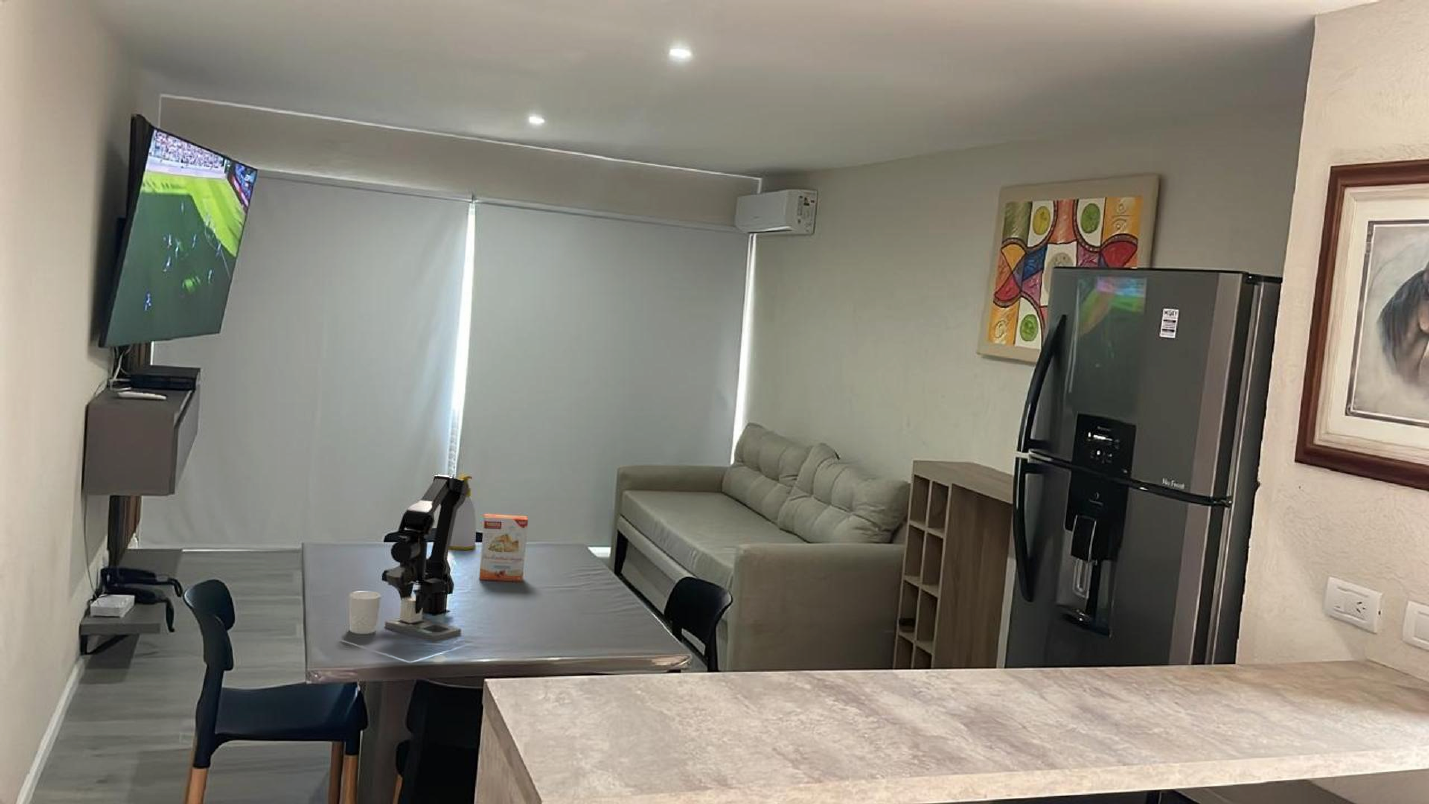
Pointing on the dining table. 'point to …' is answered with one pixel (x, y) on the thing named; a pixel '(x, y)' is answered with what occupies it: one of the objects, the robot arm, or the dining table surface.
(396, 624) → the gray socket board
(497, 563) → the cracker box
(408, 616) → the plug
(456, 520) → the soap bottle
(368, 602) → the white cup
